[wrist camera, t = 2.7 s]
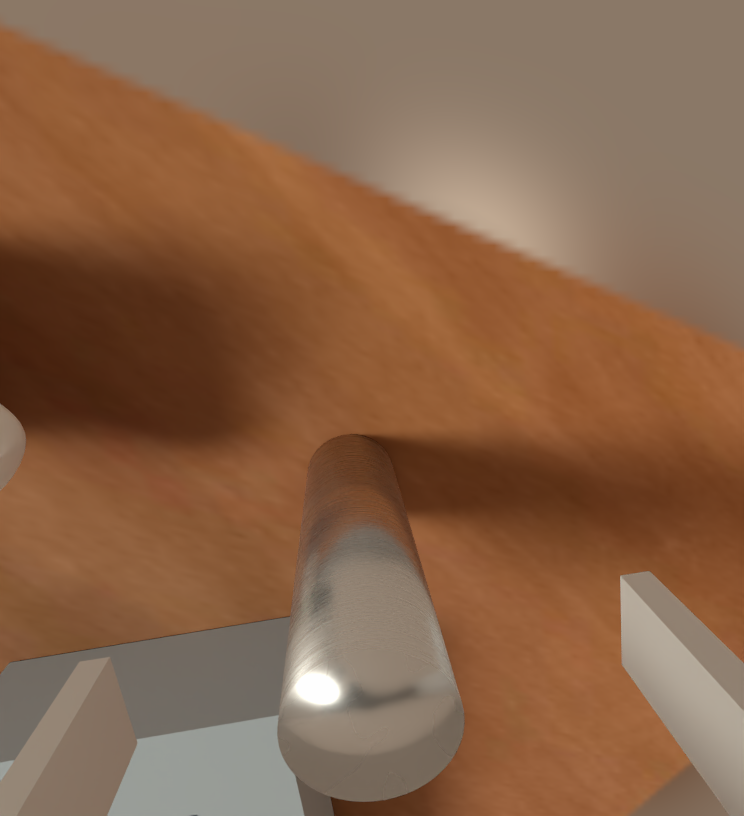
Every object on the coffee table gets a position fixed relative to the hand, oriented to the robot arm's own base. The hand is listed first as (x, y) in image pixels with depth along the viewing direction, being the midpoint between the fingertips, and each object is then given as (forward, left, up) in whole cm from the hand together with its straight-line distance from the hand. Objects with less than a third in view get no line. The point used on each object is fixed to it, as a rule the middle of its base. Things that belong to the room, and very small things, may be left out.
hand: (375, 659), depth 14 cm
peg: (0, 0, -12) cm, 12 cm away
